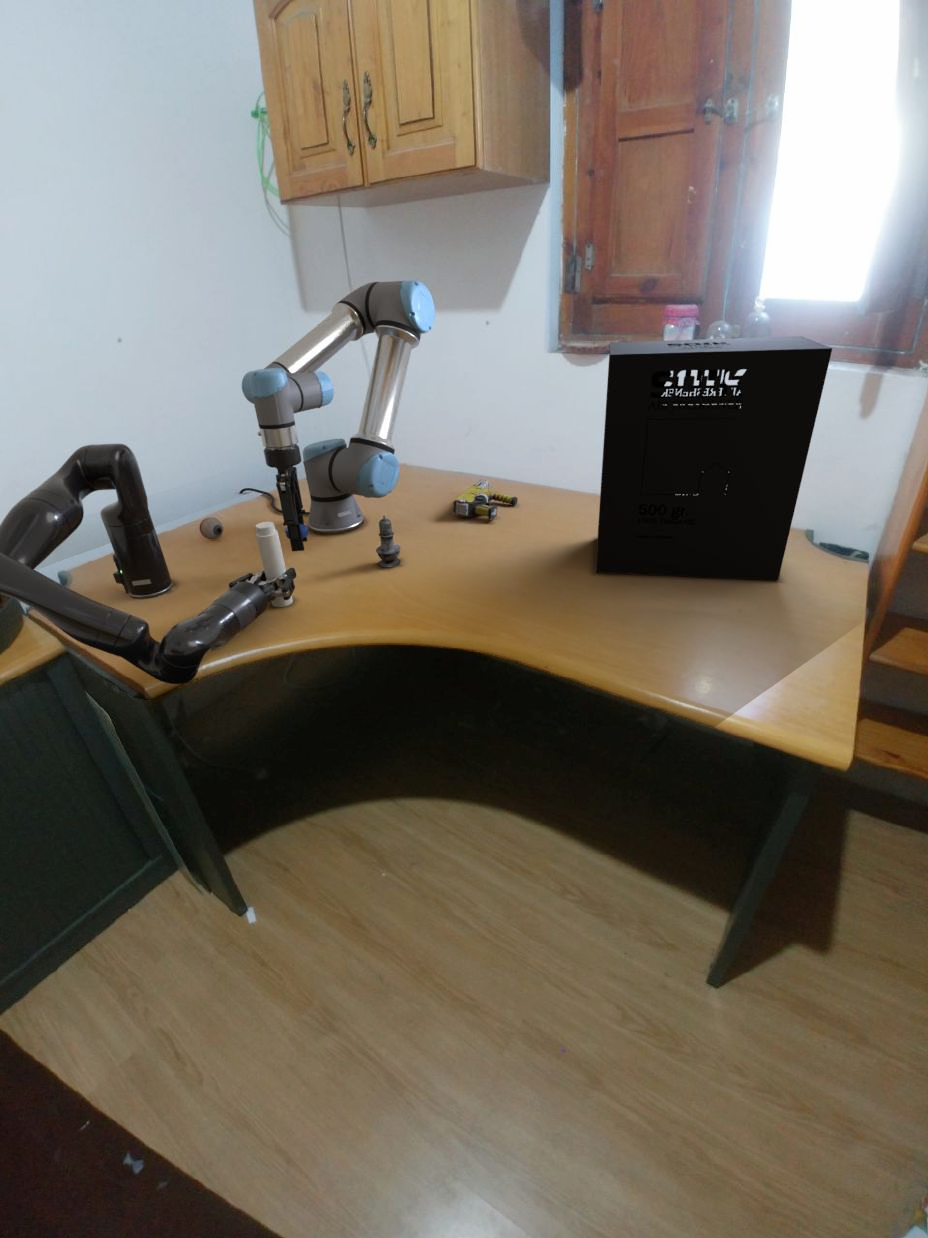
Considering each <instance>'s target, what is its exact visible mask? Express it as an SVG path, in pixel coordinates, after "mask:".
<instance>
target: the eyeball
mask: <svg viewBox="0 0 928 1238" xmlns="http://www.w3.org/2000/svg"><path fill="white" fill-rule="evenodd" d="M198 529H199V533H200V534H201V535H202V537H203V538H205V539H206V540H210V541H211V540H212V541H213V540H217V539H219V538H221V537H222V535H223V533H224V525H223V522H222V521H221V520H219V519H218V518H216V517H210V516H209V517H206V518H204V519H203V520H201V522H200V523H199V528H198Z"/></svg>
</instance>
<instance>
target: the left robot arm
mask: <svg viewBox="0 0 928 1238" xmlns="http://www.w3.org/2000/svg"><path fill="white" fill-rule="evenodd" d="M111 490H115V493H116V498H117V500H116V501H114V502H112V503H110V504H107V505H106V506H104V507H102V508H101V510H100V518H101V521H102V523H103V525H104V528H105V531H106V534H107V537H108V539H109V542H110V544H111V547H112V550H113V553H114V554H112V559H113V562H114V565H115V567H116V569H117V570H116V571H115V572H113V573H112V576H113V578H114V580H115V583H116V584H120V585H122V586H123V590H124V592H125V594H126V595H127V594H128V595H129V596H130V597H131V598H134V599H149V598H154V597H157V596H160V595H163V594H166V593H167V592H168V591H170V590H171V589H172V588H173V587H174V582H173V580H172V576H171V574H170V571H169V568H168V565H167V562H166V559H165V555H164V552H163V550H162V546H161V543H160V540H159V537H158V534H157V531H156V528H155V526H154V522H153V519H152V516H151V513H150V510H149V503H148V502H149V501H148V496H147V492H146V487H145V484H144V481H143V476H142V473H141V469H140V467H139V462H138V460H137V457H136V455H135V453H134V452H133V450H132V449H131V448H130V447H129V446H128V445H127V444H125V443H95V444H93V443H92V444H86V445H82V446H80V447H79V448H77V449H76V450H75V451H74V452H72V454H71V455H70V456H69V457H68V459H66V460H65V462H64V463H63V464H62V465H61V466H60V468H59V469H58V470H57V471H56V472H54V474H52V475H51V476H49V477H48V478H47V479H46V480H44V481H43V482H42V483H41V484H40V485H38V486H37V487H36V488H35V489H33V490H32V491H30V492H29V493H28V494H26V495H25V496H24V497H22V499H20V500H19V501H18V502H17V503H15V504H14V505H13V506H12V507H11V508H10V510H9V511H8V512H7V514H6V515H5V517H4V518H3V519H2V521H1V523H0V611H1V610H2V609H3V608H4V607H5V606H6V604H7V603H8V601H9V600H10V599H14V600H16V601H18V602H21V603H23V604H24V605H26V606H28V607H29V608H32V609H33V610H34V611H36V612H37V613H39V614H40V615H41V616H43V617H44V618H46V619H47V620H48V621H49V622H50V623H52V624H53V625H54V626H55V627H57V628H58V629H60V630H61V632H63V633H65V634H66V635H67V636H69V637H70V638H72V639H73V640H75V641H76V642H79V643H80V644H84V645H86V646H88V647H91V648H93V649H96V650H98V651H102V652H104V653H107V654H110V655H113V656H117V657H120V658H121V659H124V660H125V661H127V662H128V663H129V664H131V665H132V666H134V667H136V668H137V669H139V670H140V671H142V672H144V673H145V674H147V675H149V676H150V677H152V678H153V679H155V680H157V681H160V682H162V683H165V684H170V685H183V684H187V683H189V682H191V681H192V680H193V679H194V678H195V677H196V675H197V674H198V672H199V669H200V668H201V664H202V662H203V660H204V658H205V656H206V654H207V653H208V652H209V651H216V650H218V649H221V648H222V647H224V646H225V645H227V644H228V643H229V642H230V641H231V640H232V639H233V638H234V637H236V636H237V635H238V634H239V633H241V632H243V631H244V630H246V629H247V627H249V626H250V625H251V624H252V623H254V622H255V621H256V620H257V619H258V618H259V617H260V616H262V614H264V613H265V611H266V610H267V608H268V605H269V603H270V602H272V600H274V599H276V597H283V598H284V600H289V599H290V597H291V595H293V593H294V591H295V589H296V585H295V581H294V580H295V579H296V578H297V572H296V568H295V567H289V568H288V569H286V572H285V573H283V574H282V575H281V576H279V577H277V578H276V577H273V578H271V579H269V580H267V579H266V575H265V571H264V570H262V571H259V572H257V573H255V574H254V573H253V572H249V573H247V574H245V575H243V576H241V577H239V578H236V579H235V580H233V581H231V582H230V581H229V583H228V587H229V589H228V590H227V591H225V592H224V593H222V594H221V595H220V596H219V597H217V598H216V599H215V600H214V601H213V602H212V604H210V605H209V606H208V607H206V608H205V609H204V610H203V611H201V613H199V614H197V615H196V616H193V617H190V618H188V619H185V620H183V621H181V622H178V623H177V624H175V625H173V626H172V627H171V628H170V629H168V630H167V631H166V633H165V634H164V635H163V637H162V639H161V640H160V642H159V641H157V640H156V639H155V638H154V637H152V636H151V631H150V624H149V623H148V622H147V621H146V620H145V619H143V618H141V617H138V616H135V615H132V614H130V613H128V612H125V611H122V610H120V609H117V608H115V607H111V606H109V605H106V604H103V603H102V602H98V601H96V600H93V599H91V598H90V597H87V596H85V595H83V594H81V593H78V592H77V591H75V590H73V589H71V588H69V587H67V586H65V585H63V584H61V583H59V582H58V581H56V580H54V579H52V578H50V577H49V576H47V575H45V574H44V573H41V572H39V571H38V570H36V568H37V567H38V566H40V564H42V563H43V562H44V561H46V559H47V558H48V557H49V556H50V555H51V554H52V553H53V552H54V551H55V550H56V549H58V547H59V546H61V544H63V543H64V542H66V541H67V539H69V538H70V536H71V535H73V533H75V531H76V530H77V529H78V528H79V527H80V526H81V525H82V522H83V521H84V520H83V519H84V515H85V513H84V512H85V510H84V504H83V500H84V499H85V498H87V496H89V495H90V494H92V493H94V492H98V491H111ZM280 581H282V585H280Z"/></svg>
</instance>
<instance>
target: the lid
mask: <svg viewBox="0 0 928 1238" xmlns="http://www.w3.org/2000/svg"><path fill="white" fill-rule="evenodd" d="M300 529H301V534H302V538H305V537H307V538H308V536H309V533H310V532H309V527H308V525H307V524H305V523H304V524H300ZM284 531H285V536H286V538H287V539H288V540H290V538H289V533H288V528H287V526H285V530H284Z"/></svg>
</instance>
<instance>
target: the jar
mask: <svg viewBox="0 0 928 1238" xmlns="http://www.w3.org/2000/svg"><path fill="white" fill-rule="evenodd" d="M255 529H256V533H255V537H256V538H255V539H256V542H257V545H258V550H259V554H260V559H261V562H262V566H263V571H265V575H266V579H267V580H269V579H271V578H273V577H276V578H277V577H279V576H281V575H282V574H283V573H285V572H286V571H287V569H286V564H285V559H284V554H283V550H282V545H281V541H280V537H279V532H278V530H277V529H276V526H275V523H274V522H273V521H262V522H259V523H257V524H255ZM280 585H282V581H280ZM292 595H293V594H292ZM292 595H291V597H290V599H289V600H284V598H283V597H276V599H274V600H272V601H271V604H272V606H273V607H275V608H284V607H288V606H290V605H292V603H293V601H294V600H293V597H292Z"/></svg>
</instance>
